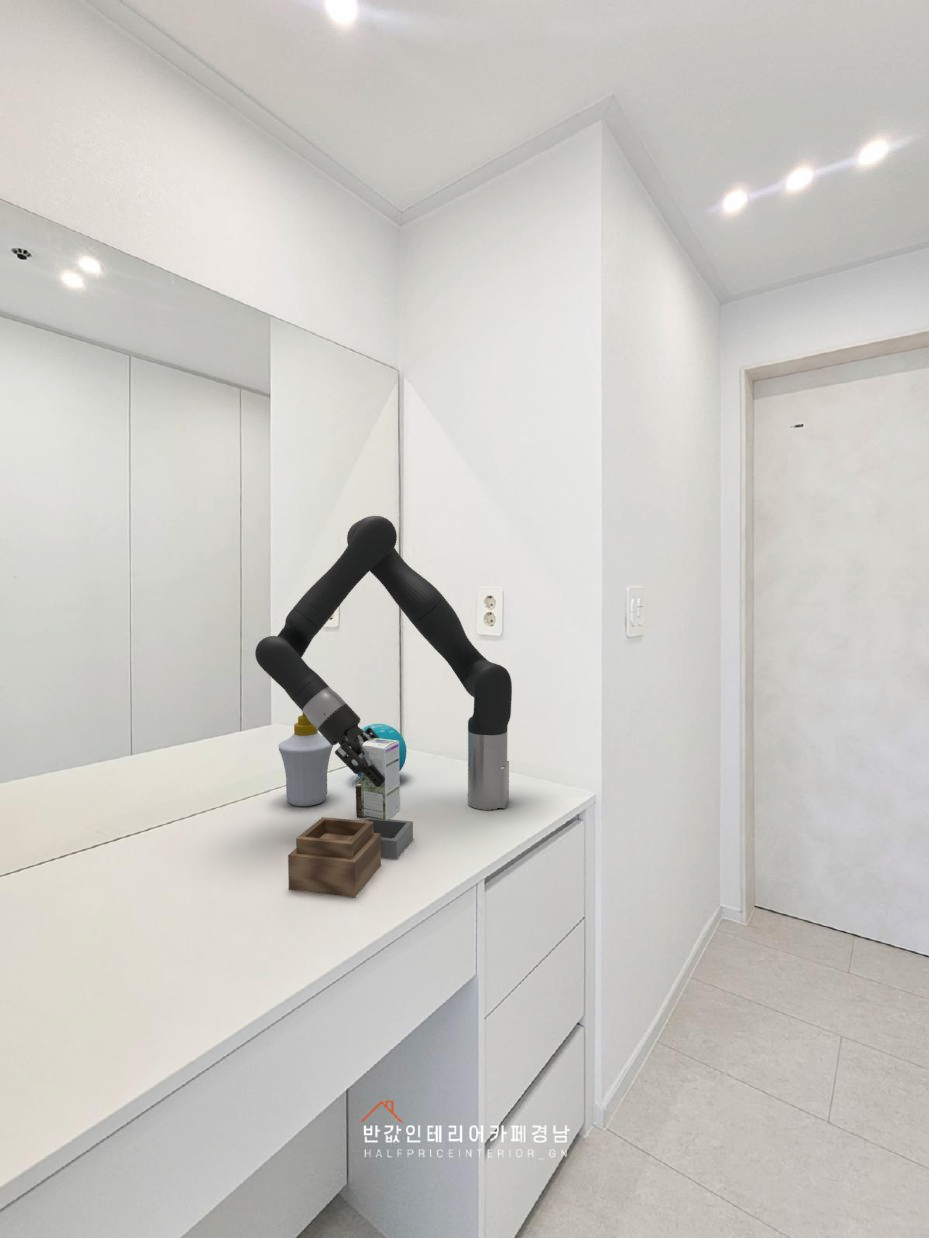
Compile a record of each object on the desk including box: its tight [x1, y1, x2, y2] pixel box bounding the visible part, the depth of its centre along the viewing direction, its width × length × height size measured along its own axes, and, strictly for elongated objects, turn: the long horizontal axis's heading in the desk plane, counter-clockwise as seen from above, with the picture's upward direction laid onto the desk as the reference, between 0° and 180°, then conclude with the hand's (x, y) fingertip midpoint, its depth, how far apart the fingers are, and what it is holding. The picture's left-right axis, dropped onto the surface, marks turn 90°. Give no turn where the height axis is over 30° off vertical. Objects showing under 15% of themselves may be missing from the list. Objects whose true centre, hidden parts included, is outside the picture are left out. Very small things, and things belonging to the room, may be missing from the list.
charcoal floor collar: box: [362, 817, 414, 860], centre depth 123 cm, size 10×10×4 cm
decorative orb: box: [351, 723, 408, 778], centre depth 163 cm, size 15×15×15 cm
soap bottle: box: [278, 710, 334, 807], centre depth 148 cm, size 13×13×25 cm
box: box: [355, 779, 370, 819], centre depth 140 cm, size 6×6×7 cm
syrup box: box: [360, 738, 401, 820], centre depth 122 cm, size 6×6×14 cm
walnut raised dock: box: [287, 816, 382, 899], centre depth 110 cm, size 12×12×8 cm
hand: (388, 777), depth 122 cm, fingers closed on syrup box, 6 cm apart
